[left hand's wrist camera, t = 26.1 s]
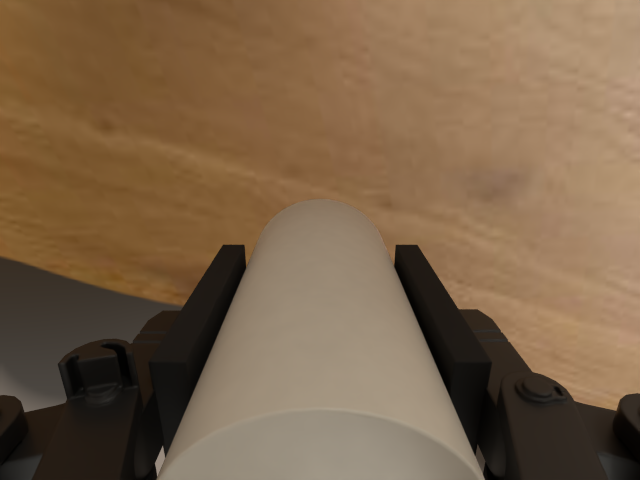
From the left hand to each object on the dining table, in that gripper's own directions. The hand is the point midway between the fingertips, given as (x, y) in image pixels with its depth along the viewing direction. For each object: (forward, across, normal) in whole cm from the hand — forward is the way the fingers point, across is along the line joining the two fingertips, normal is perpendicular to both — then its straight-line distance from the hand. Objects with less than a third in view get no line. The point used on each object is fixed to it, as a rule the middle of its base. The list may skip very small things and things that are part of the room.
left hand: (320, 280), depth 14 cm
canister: (+2, 0, 0) cm, 2 cm away
